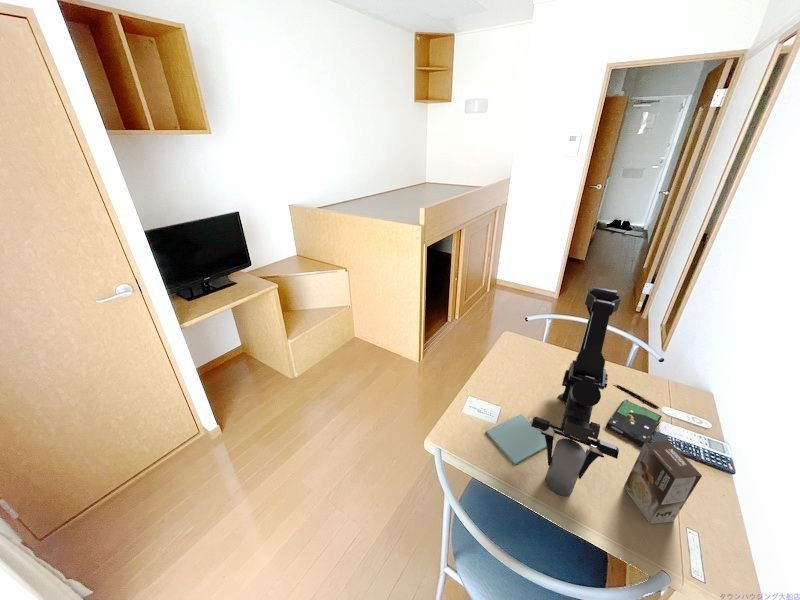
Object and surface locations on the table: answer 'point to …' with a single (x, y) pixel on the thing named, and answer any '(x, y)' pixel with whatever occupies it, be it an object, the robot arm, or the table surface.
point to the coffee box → (661, 481)
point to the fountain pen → (637, 396)
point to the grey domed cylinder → (565, 467)
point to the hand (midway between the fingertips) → (563, 471)
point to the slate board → (517, 439)
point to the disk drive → (633, 422)
